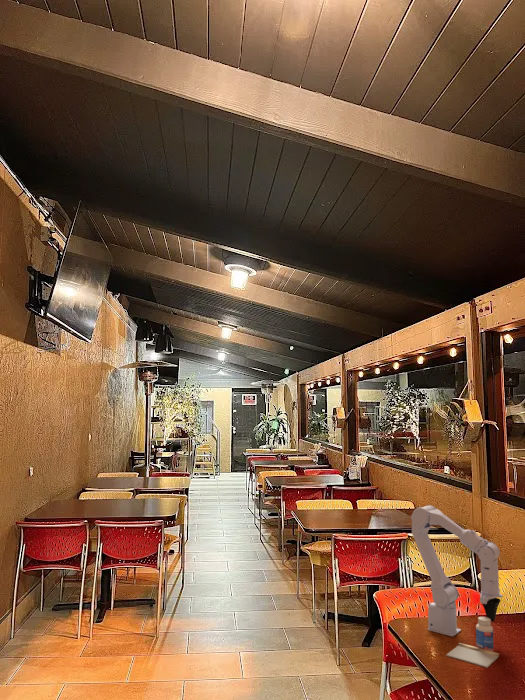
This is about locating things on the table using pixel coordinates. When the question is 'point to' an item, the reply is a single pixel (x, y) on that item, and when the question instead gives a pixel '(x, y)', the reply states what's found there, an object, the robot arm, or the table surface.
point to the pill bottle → (484, 634)
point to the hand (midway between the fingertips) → (491, 620)
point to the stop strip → (479, 649)
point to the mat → (472, 656)
